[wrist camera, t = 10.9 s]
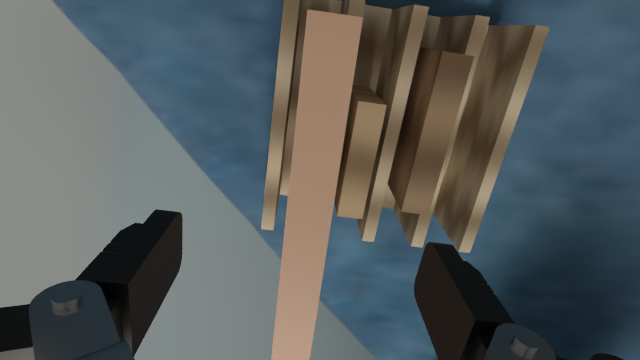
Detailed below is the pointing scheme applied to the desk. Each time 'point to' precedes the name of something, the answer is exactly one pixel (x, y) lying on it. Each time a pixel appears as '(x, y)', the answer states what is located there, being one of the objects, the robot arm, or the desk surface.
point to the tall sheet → (314, 175)
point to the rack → (393, 88)
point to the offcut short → (359, 151)
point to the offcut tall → (427, 127)
